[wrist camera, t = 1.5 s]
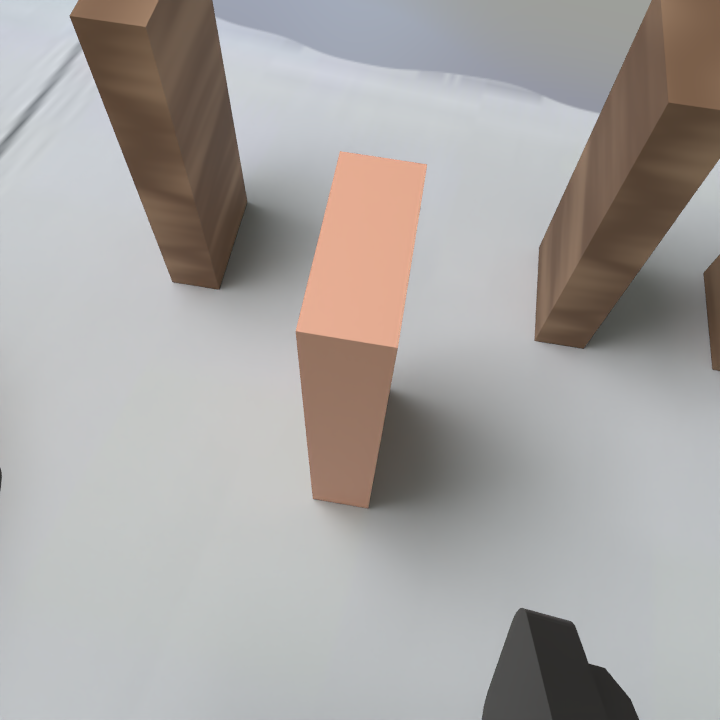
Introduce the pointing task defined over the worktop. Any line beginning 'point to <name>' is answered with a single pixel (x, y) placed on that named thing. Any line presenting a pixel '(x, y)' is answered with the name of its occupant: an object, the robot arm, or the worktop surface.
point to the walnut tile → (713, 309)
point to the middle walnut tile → (633, 170)
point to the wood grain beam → (171, 124)
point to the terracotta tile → (355, 319)
